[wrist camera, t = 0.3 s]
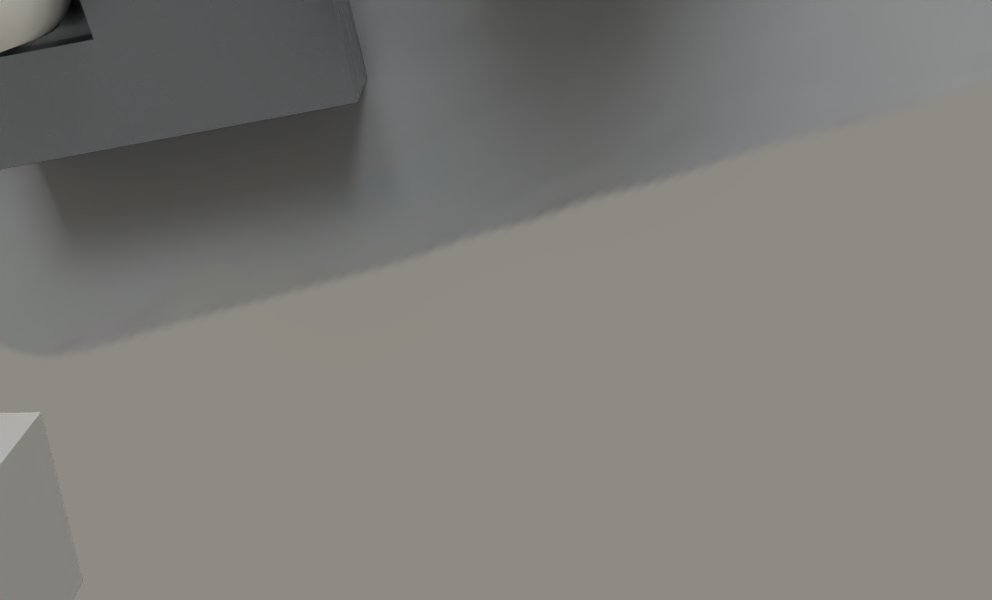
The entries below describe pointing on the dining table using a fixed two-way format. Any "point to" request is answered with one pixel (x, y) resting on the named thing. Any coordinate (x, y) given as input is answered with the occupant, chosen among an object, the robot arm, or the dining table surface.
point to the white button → (29, 20)
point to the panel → (172, 72)
